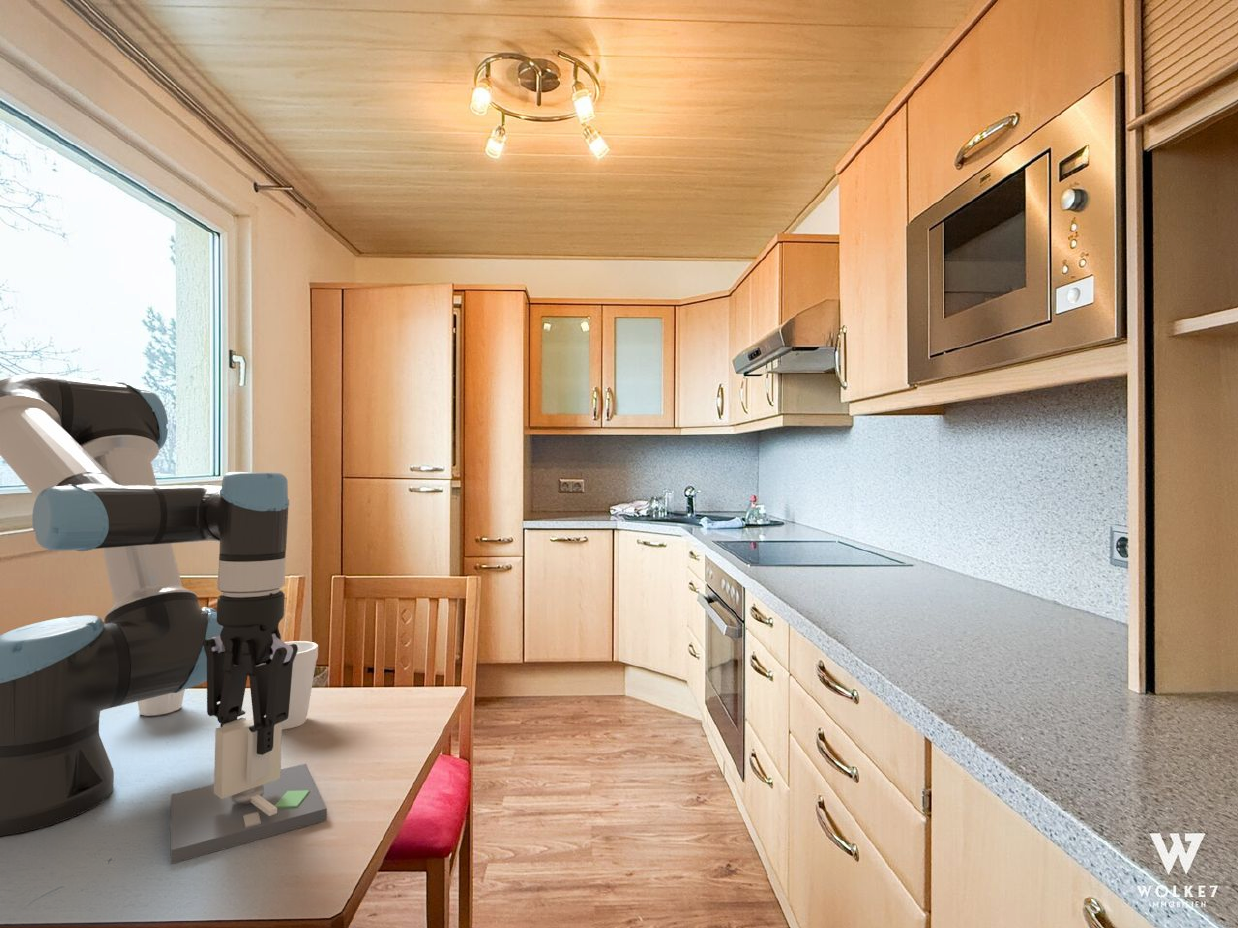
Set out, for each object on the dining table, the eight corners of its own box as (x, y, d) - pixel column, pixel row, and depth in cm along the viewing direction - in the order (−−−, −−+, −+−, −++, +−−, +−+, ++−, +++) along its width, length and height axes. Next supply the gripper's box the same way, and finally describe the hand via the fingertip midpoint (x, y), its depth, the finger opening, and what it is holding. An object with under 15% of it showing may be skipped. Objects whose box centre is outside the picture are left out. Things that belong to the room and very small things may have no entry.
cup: (168, 722, 110) (170, 647, 110) (111, 721, 110) (113, 646, 110) (206, 702, 120) (208, 633, 120) (154, 701, 120) (156, 632, 120)
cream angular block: (241, 832, 74) (244, 746, 74) (211, 807, 79) (213, 727, 80) (302, 808, 79) (304, 728, 80) (269, 786, 85) (271, 711, 85)
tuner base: (170, 863, 70) (171, 848, 70) (170, 805, 83) (171, 792, 83) (326, 820, 80) (326, 806, 80) (305, 773, 92) (306, 762, 92)
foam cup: (290, 735, 105) (292, 657, 105) (242, 730, 107) (244, 653, 107) (327, 714, 114) (329, 642, 115) (282, 710, 116) (284, 639, 117)
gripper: (325, 591, 83) (319, 772, 82) (229, 582, 88) (222, 753, 87) (278, 601, 75) (271, 800, 75) (176, 591, 81) (169, 777, 80)
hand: (245, 774), depth 81 cm, fingers closed on cream angular block, 3 cm apart
